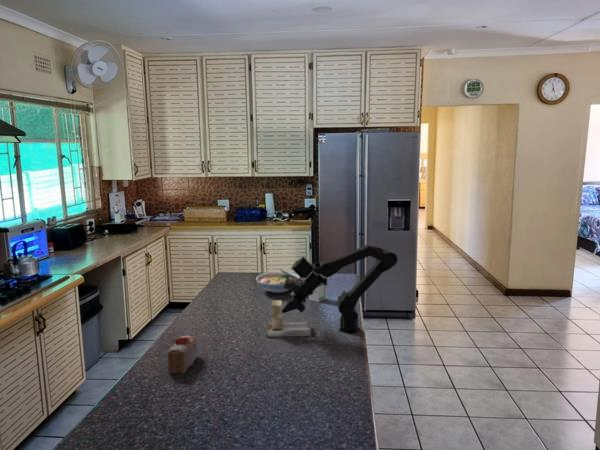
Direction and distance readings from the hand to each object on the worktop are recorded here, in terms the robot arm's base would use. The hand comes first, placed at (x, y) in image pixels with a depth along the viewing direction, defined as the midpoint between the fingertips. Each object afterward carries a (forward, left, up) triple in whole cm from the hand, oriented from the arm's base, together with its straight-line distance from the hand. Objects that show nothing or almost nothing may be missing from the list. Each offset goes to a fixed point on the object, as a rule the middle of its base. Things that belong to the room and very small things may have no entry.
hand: (282, 312), depth 183 cm
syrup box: (+11, -40, -9) cm, 42 cm away
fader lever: (+2, +1, -7) cm, 7 cm away
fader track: (-2, -1, -9) cm, 9 cm away
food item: (+11, +41, -9) cm, 43 cm away
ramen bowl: (+35, -39, -9) cm, 53 cm away
